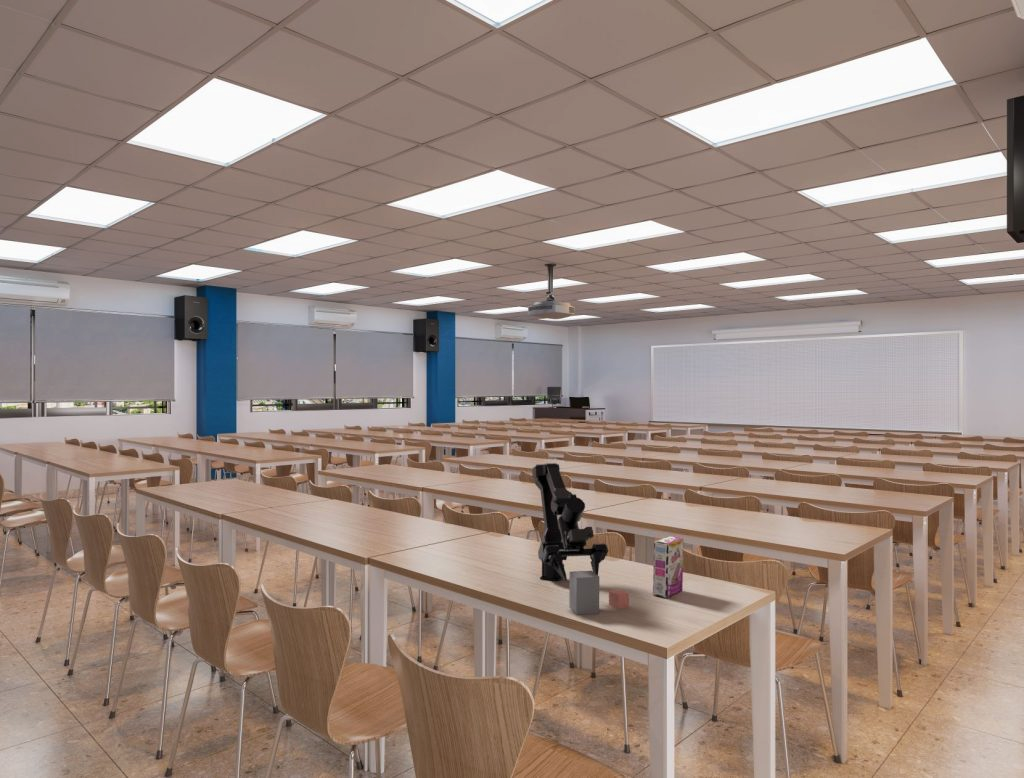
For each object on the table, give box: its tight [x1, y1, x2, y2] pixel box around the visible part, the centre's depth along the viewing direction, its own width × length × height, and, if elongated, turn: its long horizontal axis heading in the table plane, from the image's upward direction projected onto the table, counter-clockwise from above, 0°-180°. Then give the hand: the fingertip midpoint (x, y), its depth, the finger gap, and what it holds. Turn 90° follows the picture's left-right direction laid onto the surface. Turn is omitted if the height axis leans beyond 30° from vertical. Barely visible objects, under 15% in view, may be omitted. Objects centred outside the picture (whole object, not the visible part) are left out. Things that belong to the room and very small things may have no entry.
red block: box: [608, 588, 630, 610], centre depth 182 cm, size 4×4×4 cm
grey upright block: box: [568, 570, 600, 616], centre depth 178 cm, size 7×7×10 cm
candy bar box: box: [652, 536, 684, 599], centre depth 195 cm, size 11×5×16 cm, turn 141°
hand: (581, 579), depth 181 cm, fingers open, 9 cm apart
